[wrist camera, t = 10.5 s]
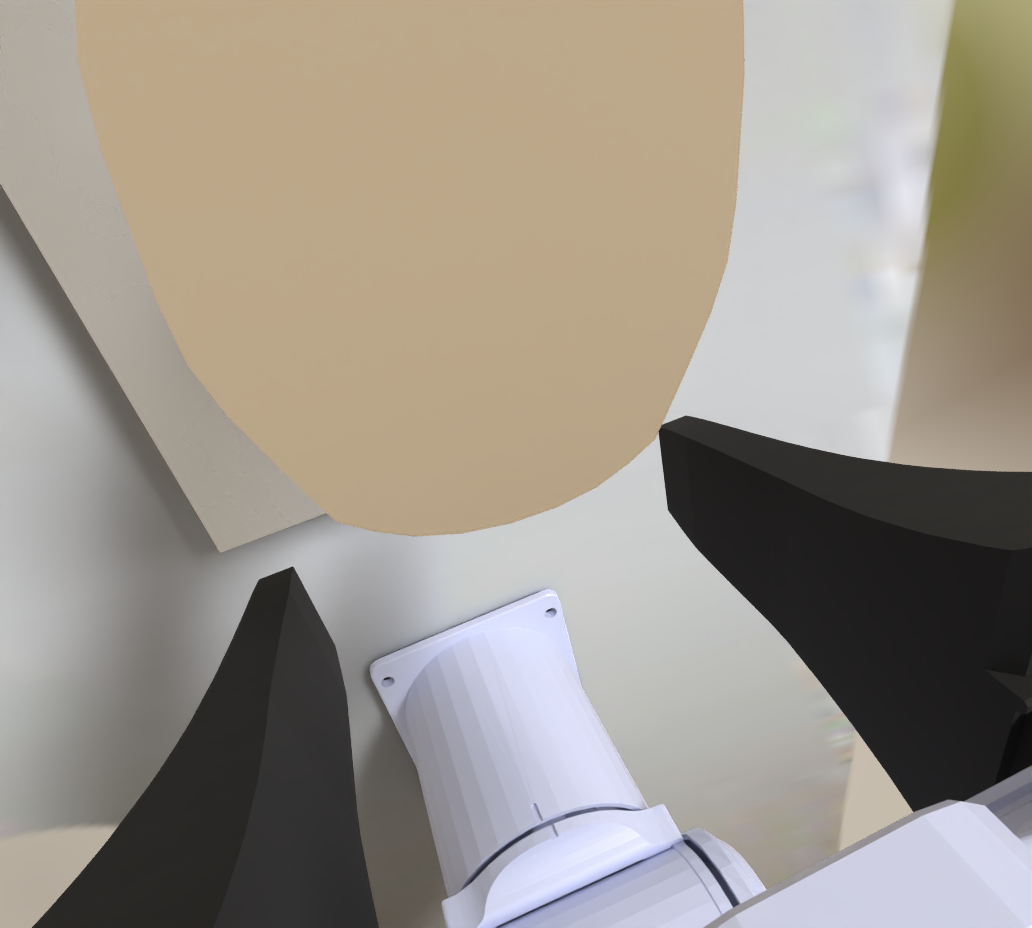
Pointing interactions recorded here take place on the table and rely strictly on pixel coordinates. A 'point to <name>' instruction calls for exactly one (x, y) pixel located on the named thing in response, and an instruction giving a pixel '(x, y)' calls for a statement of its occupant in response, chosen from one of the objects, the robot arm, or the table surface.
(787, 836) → the table surface
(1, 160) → the rack plate
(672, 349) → the handle
